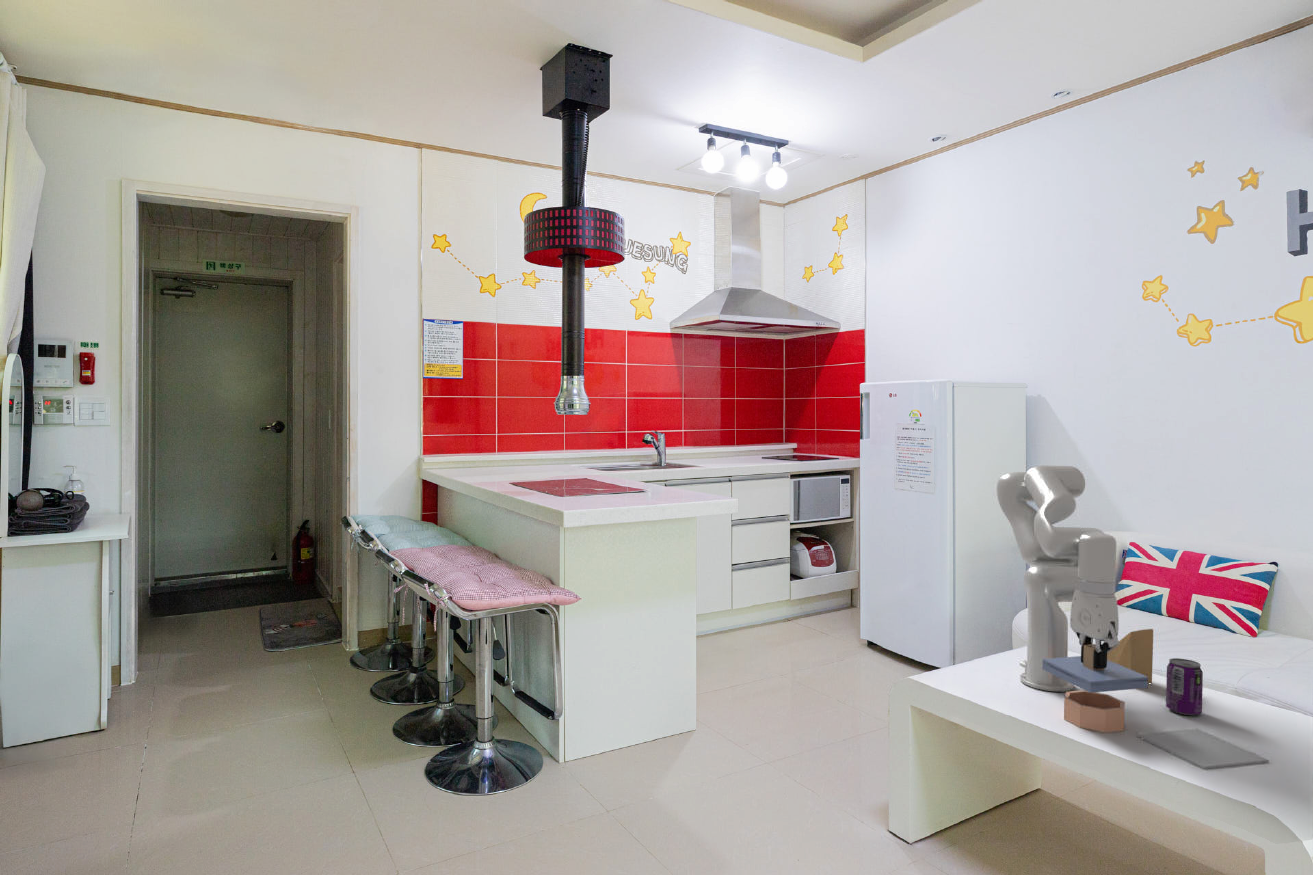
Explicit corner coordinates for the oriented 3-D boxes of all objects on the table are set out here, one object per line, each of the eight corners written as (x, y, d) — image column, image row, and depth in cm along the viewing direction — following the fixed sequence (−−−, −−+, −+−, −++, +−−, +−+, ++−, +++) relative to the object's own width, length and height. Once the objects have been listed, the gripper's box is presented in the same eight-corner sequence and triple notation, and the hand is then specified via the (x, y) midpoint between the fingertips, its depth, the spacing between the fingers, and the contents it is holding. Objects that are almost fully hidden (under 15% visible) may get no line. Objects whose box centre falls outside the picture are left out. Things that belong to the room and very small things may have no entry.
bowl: (1053, 713, 178) (1053, 692, 178) (1096, 709, 181) (1096, 689, 180) (1091, 733, 167) (1092, 711, 166) (1137, 729, 169) (1137, 707, 169)
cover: (1042, 669, 180) (1043, 638, 180) (1095, 664, 183) (1096, 634, 183) (1090, 692, 165) (1091, 659, 165) (1147, 687, 168) (1148, 654, 168)
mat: (1137, 736, 165) (1137, 733, 165) (1197, 730, 169) (1197, 728, 169) (1203, 769, 150) (1203, 766, 150) (1268, 762, 153) (1268, 759, 153)
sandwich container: (1100, 666, 213) (1101, 614, 213) (1153, 684, 199) (1154, 628, 199) (1078, 670, 210) (1079, 617, 210) (1130, 688, 196) (1131, 631, 196)
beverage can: (1208, 718, 176) (1209, 667, 175) (1174, 716, 177) (1175, 665, 177) (1192, 707, 183) (1193, 658, 182) (1160, 704, 184) (1161, 656, 184)
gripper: (1056, 579, 180) (1054, 654, 181) (1110, 596, 164) (1107, 679, 165) (1083, 578, 182) (1080, 652, 183) (1139, 595, 166) (1136, 676, 167)
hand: (1093, 664), depth 174 cm, fingers closed on cover, 3 cm apart
